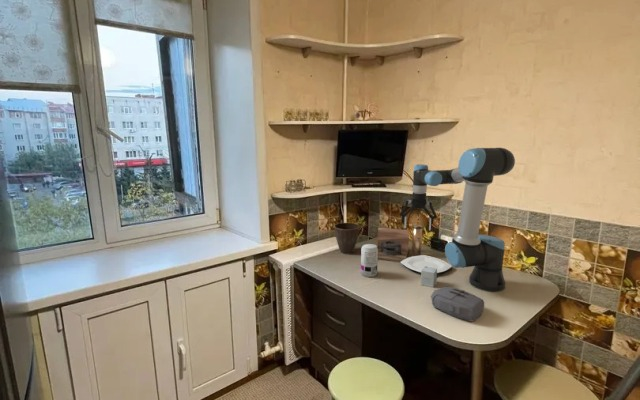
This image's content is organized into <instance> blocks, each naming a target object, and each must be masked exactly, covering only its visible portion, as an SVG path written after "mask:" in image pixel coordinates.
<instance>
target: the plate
mask: <svg viewBox="0 0 640 400" xmlns="http://www.w3.org/2000/svg"><path fill="white" fill-rule="evenodd" d="M399 263H401V265H403V266H404V267H406V268H407V269H409V270H412V271H414V272H417V273H420V274H421V270H422V269H423V268H424V267H425V266H426V267H431V268H436V269H437V274H440V273H444V272H447V271H449V270H450V269H451V268H452V267H453V266H452V265H451V264H450V263H449V262H446V261H445V260H443V259H440V258H437V257H434V256H429V255H425V254H421V255H420V256H409V257H407V258H406V259H404V260H403V261H401V262H399Z"/></svg>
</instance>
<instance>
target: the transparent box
mask: <svg viewBox="0 0 640 400" xmlns="http://www.w3.org/2000/svg"><path fill="white" fill-rule="evenodd" d="M409 237H410V229H401V228H390V227H389V228H388V227H378V228H377V249H378V261H387V262H394V263H395V262H396V263H400V262H401V261H403V260H404V259H406V258H408V254H409V239H410V238H409Z"/></svg>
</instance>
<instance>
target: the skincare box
mask: <svg viewBox="0 0 640 400" xmlns="http://www.w3.org/2000/svg"><path fill="white" fill-rule="evenodd" d="M437 276H438V273H437V269H436V268H431V267H426V266H425V267H424V268H423V269H422V270H421V273H420V285H421V286H425V287H430V288H434V287H435V285H436V284H437V280H438V279H437V278H438V277H437Z"/></svg>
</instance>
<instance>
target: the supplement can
mask: <svg viewBox="0 0 640 400" xmlns="http://www.w3.org/2000/svg"><path fill="white" fill-rule="evenodd" d="M377 247H378V245H376V244H374V243H373V244H372V243H365V244H363V245H362V246H361V248H360V249H361V250H360V252H361V253H360V273H361V275H362V276H364V277H365V278H366V277H367V278H371V277H372V278H373V277H376V276H377V274H378V261H379V260H378V249H377Z"/></svg>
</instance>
